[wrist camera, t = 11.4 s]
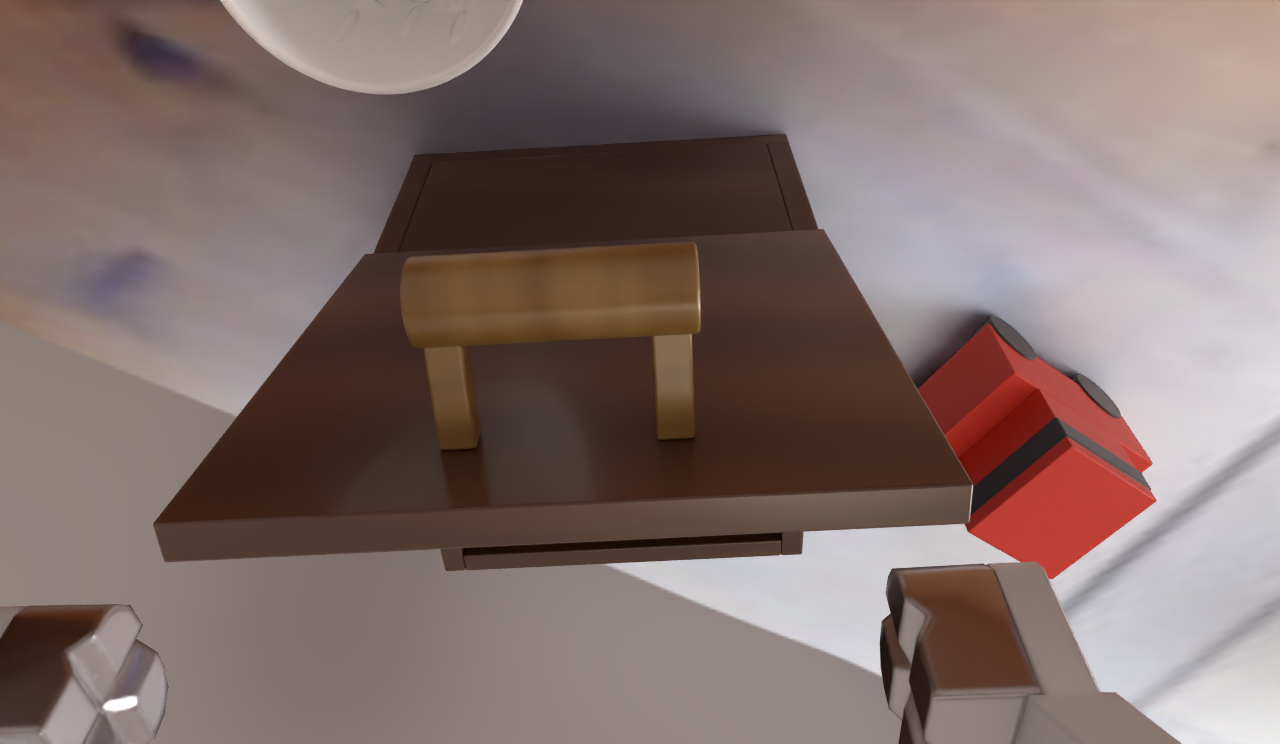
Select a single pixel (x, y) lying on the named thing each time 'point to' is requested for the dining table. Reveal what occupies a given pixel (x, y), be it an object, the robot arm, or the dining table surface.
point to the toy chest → (602, 211)
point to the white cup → (377, 38)
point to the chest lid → (575, 407)
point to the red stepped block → (1036, 450)
